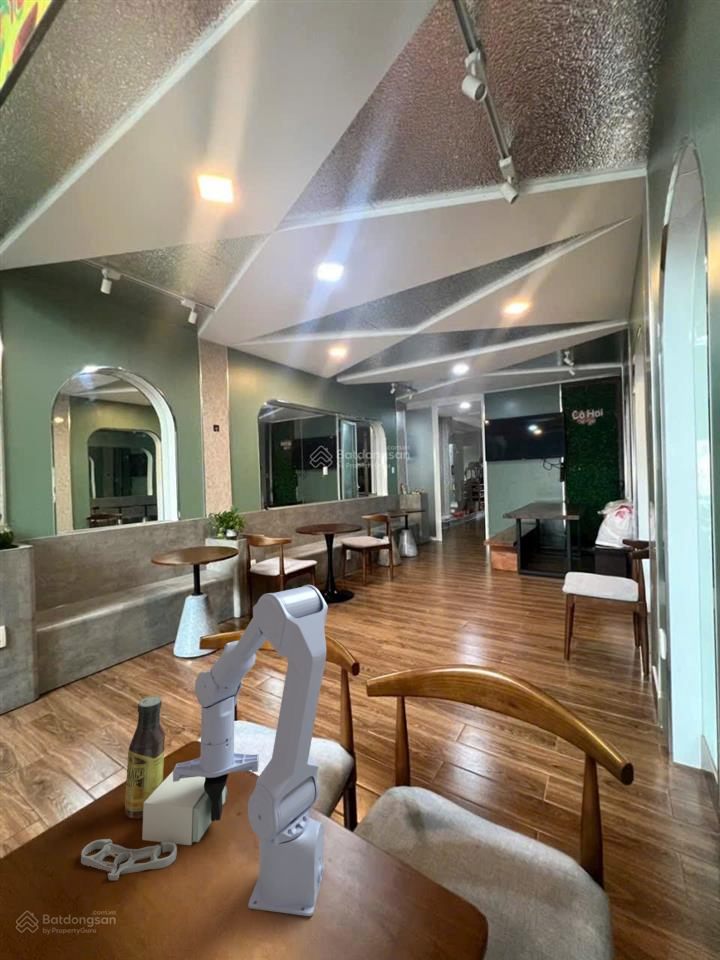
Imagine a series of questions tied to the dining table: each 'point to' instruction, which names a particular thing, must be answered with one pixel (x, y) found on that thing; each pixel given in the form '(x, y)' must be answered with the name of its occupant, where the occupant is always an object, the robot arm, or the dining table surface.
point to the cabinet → (172, 810)
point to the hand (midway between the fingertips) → (216, 816)
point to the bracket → (127, 857)
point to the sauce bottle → (145, 757)
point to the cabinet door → (204, 815)
